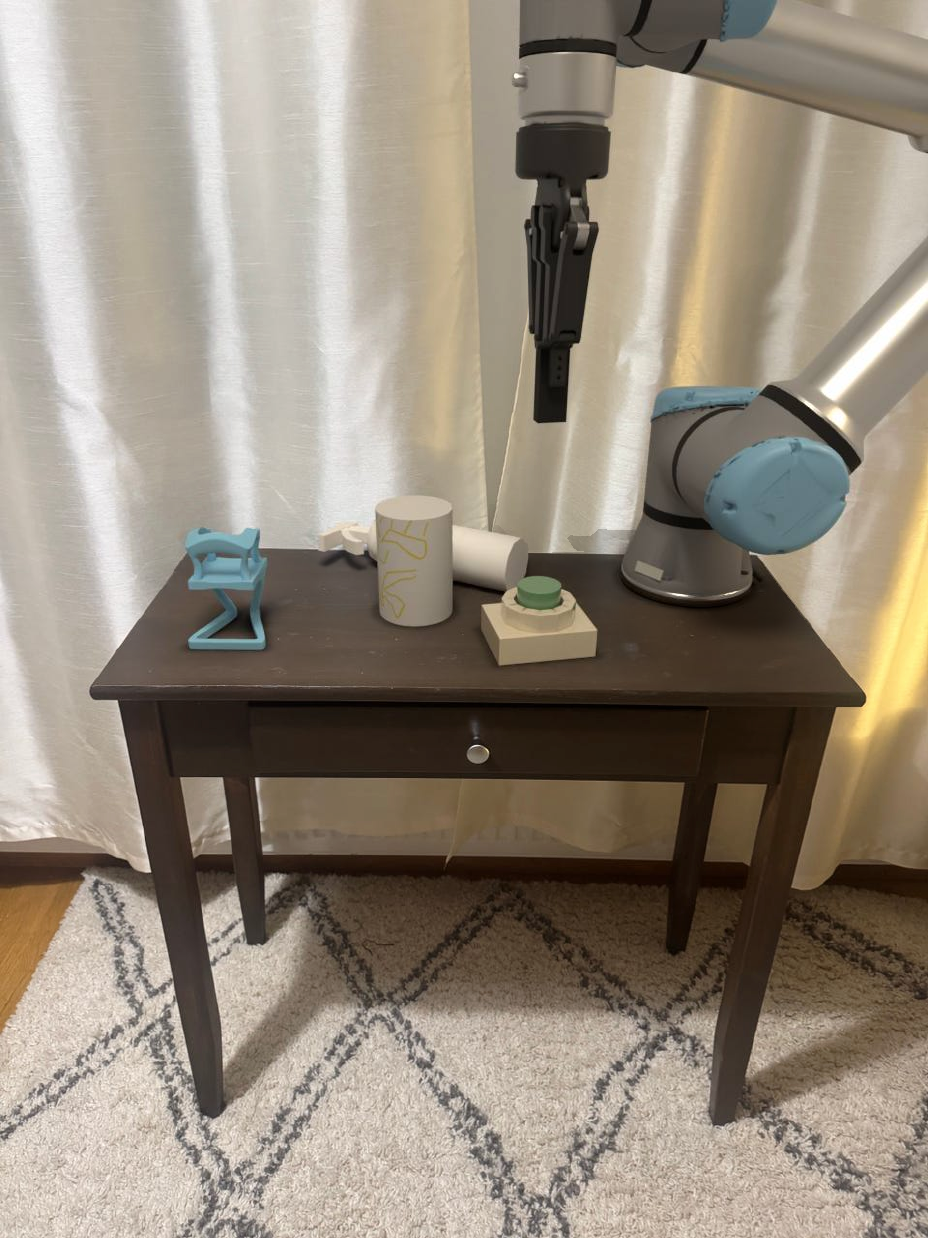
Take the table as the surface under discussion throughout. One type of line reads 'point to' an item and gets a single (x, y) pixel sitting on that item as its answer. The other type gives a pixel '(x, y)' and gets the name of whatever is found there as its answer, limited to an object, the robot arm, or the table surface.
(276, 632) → the table surface
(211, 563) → the chair
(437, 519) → the white cylinder
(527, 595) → the green cylindrical puck
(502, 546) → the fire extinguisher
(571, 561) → the table surface
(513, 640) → the push button base
